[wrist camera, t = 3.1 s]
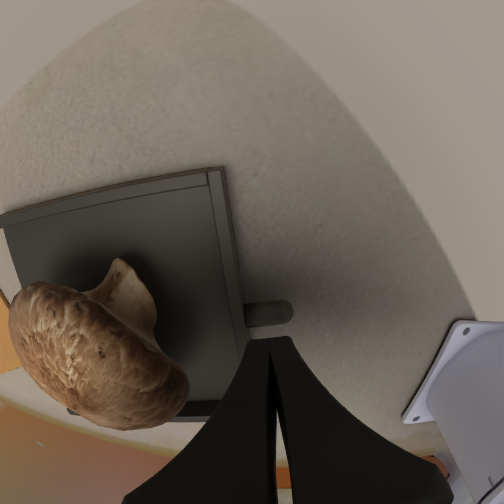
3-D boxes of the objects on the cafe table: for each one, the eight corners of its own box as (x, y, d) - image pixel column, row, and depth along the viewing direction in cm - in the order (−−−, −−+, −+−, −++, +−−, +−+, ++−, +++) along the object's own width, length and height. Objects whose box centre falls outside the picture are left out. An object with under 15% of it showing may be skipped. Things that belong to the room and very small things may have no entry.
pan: (78, 397, 16) (69, 414, 15) (4, 213, 12) (-16, 222, 11) (297, 393, 16) (300, 414, 14) (277, 158, 12) (281, 161, 10)
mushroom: (125, 196, 9) (15, 399, 5) (253, 329, 14) (209, 466, 10) (36, 233, 13) (-26, 344, 9) (139, 319, 18) (99, 414, 14)
